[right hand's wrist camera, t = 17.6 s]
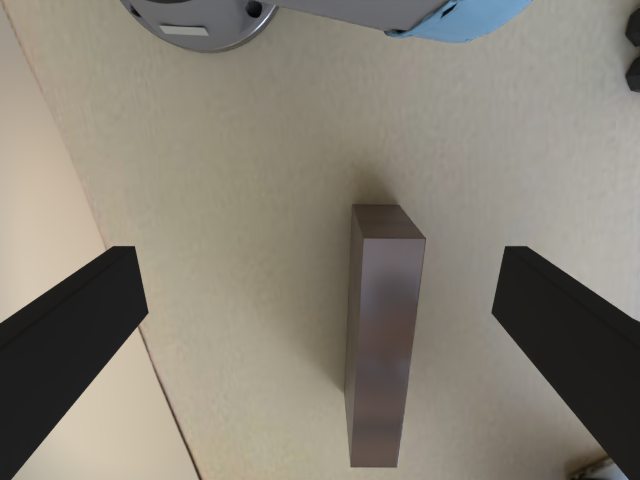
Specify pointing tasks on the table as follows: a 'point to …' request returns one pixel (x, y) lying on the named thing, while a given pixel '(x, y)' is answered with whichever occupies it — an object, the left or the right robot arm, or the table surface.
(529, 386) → the table surface
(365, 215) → the plank
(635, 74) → the robot
